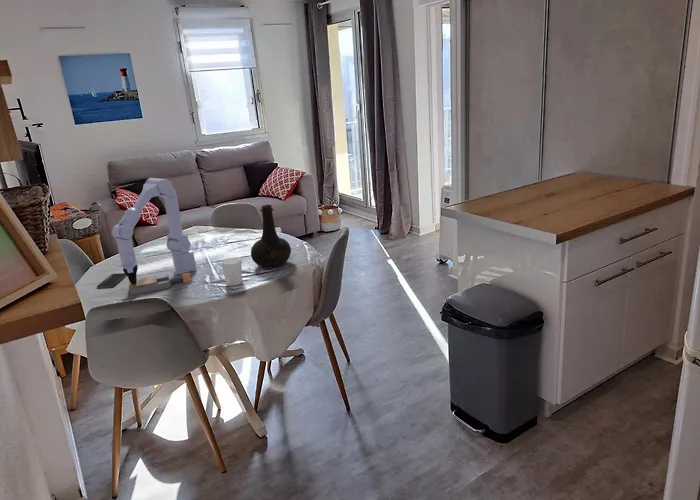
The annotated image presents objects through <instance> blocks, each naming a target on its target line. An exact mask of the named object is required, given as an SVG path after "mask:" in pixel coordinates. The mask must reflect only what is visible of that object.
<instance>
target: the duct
mask: <svg viewBox="0 0 700 500" xmlns="http://www.w3.org/2000/svg"><path fill="white" fill-rule="evenodd" d="M156 279H157V284H153V285H148V286H143V287H138V288H133V289H129V288H128V290H129V295H130V296H135V295H140V294H145V293H148V292H149V293H150V292H155V291H159V290H164V289H169V288H171V285H172V284H170V277H169V275H164V276H163V275H162V276H159V277H156ZM165 280H169V281H165ZM160 281H164V282H160Z"/></svg>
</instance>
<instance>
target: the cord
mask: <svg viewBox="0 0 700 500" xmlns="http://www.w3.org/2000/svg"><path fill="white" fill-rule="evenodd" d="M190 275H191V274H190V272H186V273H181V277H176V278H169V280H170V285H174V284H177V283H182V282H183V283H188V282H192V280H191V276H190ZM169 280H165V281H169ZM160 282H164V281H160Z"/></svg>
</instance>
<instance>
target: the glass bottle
mask: <svg viewBox="0 0 700 500" xmlns="http://www.w3.org/2000/svg"><path fill="white" fill-rule="evenodd" d="M273 211H274V208H273V207H272V205H271V204H264V205H261V209H260V212H261V213H262V234H261V238H260V239H259V240H257V241H256V242H254V244H252V247H251V249H250V257H251V258H252V261H253V262H254V263H255V264H256V265H257V266H259V267H261V268H266V269H273V268H274V267H275V268H279V267H281V265H282V266H283V265H284V264H286V263H287V262H288V260H289V258H291V253H292V247H291V245H290V243H289V242H288V241H287V240H286V239H284V238H282V237H279V235H278V233H277V230H276V225H275V223H274V222H275V220H274V215H273Z"/></svg>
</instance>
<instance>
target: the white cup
mask: <svg viewBox="0 0 700 500" xmlns="http://www.w3.org/2000/svg"><path fill="white" fill-rule="evenodd" d="M221 267H222V270H223V276H224V279H225V284H226V286H229V287H232V286H238V285H241V284H242V282H243V271H242V270H243V269H242V261H241V258H239V257H229V258H225V259H222V261H221Z"/></svg>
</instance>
